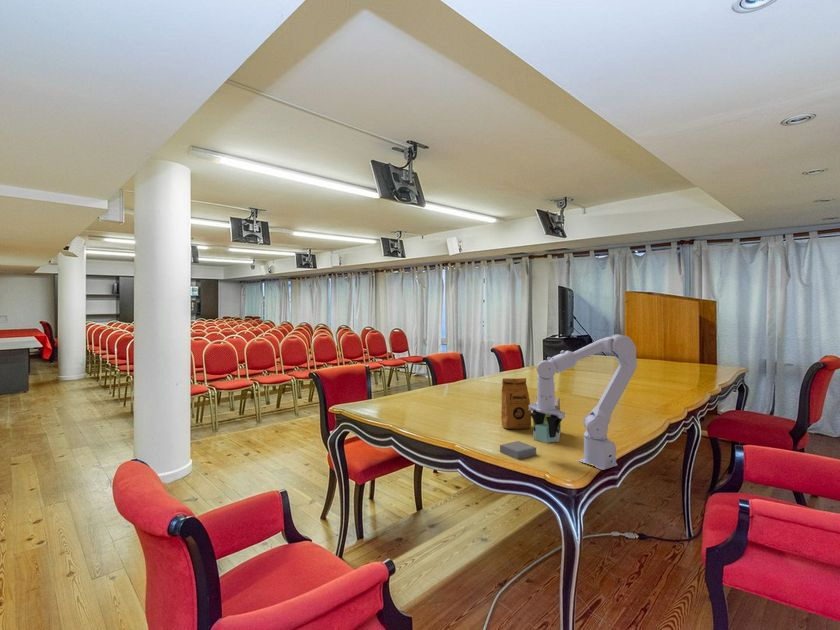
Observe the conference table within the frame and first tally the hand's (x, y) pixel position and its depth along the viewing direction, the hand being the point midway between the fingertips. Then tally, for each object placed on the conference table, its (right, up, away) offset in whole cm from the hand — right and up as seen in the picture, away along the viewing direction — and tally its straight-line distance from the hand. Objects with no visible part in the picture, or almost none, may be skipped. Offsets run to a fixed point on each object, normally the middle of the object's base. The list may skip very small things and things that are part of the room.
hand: (546, 434), depth 141 cm
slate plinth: (-8, -9, +6) cm, 13 cm away
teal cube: (0, -2, 0) cm, 2 cm away
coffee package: (-1, -9, +40) cm, 41 cm away
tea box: (+9, -9, +27) cm, 30 cm away
